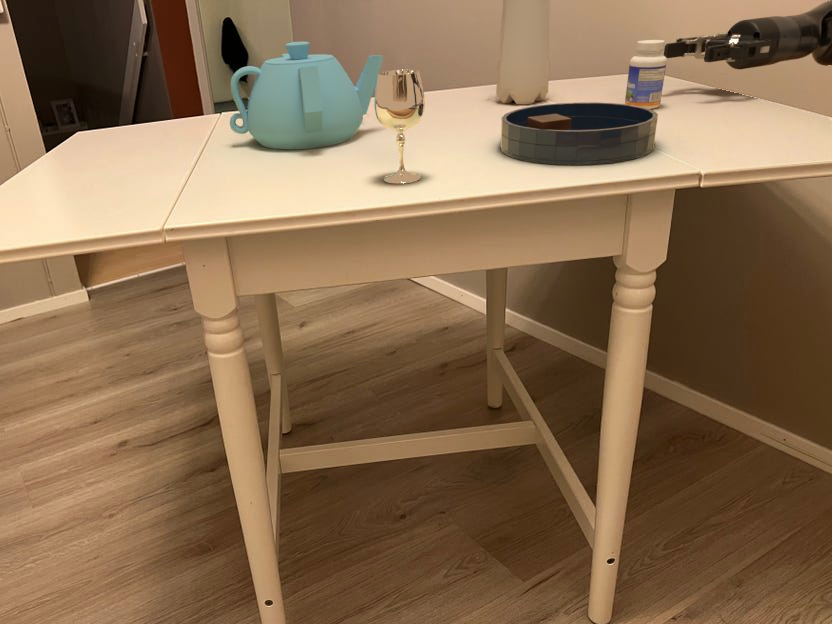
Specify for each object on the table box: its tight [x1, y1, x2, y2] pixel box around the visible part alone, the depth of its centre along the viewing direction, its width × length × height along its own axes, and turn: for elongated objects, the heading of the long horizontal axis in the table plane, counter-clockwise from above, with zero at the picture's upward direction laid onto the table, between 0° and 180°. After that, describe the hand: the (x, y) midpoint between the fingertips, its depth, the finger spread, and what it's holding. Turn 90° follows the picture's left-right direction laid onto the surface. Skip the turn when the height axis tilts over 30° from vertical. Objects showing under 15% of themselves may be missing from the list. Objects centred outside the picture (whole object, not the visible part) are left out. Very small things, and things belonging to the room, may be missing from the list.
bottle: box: [495, 0, 551, 105], centre depth 119 cm, size 9×9×30 cm
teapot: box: [229, 41, 384, 150], centre depth 107 cm, size 19×19×14 cm
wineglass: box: [374, 68, 426, 185], centre depth 82 cm, size 6×6×12 cm
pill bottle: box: [624, 39, 668, 110], centre depth 111 cm, size 5×5×10 cm
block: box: [527, 114, 572, 130], centre depth 90 cm, size 4×4×4 cm
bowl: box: [500, 101, 659, 166], centre depth 92 cm, size 19×19×4 cm
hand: (685, 53), depth 113 cm, fingers open, 8 cm apart
